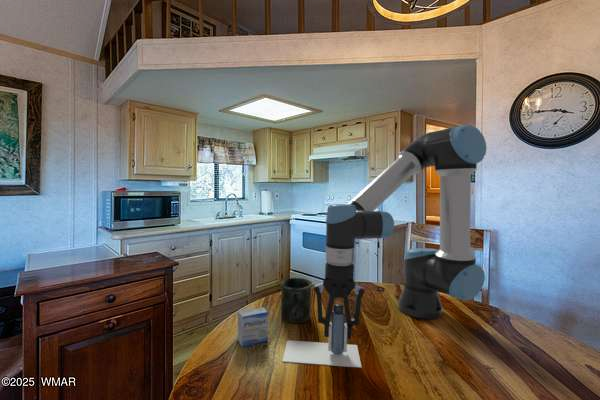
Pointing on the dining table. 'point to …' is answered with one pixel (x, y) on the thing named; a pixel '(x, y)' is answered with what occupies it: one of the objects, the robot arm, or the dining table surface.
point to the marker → (337, 329)
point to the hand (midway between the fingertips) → (337, 348)
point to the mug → (296, 300)
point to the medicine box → (252, 326)
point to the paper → (320, 354)
